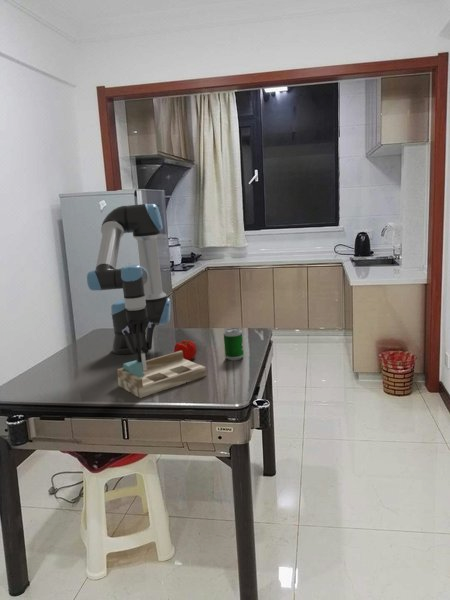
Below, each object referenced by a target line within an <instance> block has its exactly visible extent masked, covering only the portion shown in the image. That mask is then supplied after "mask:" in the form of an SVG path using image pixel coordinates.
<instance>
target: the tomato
mask: <svg viewBox="0 0 450 600" xmlns="http://www.w3.org/2000/svg"><path fill="white" fill-rule="evenodd" d="M173 350H174V352H177V351H183V358H184V359H186V360H189V361H192V360H193V359H194V357H195V356H196V354H197V346H196V344H195V343H194V342H193V340H192V341H191V340H187V339H186V340H185V339H184V340H181V341H180V342H177V343H176V344H175V345H174V349H173ZM174 352H173V353H174Z"/></svg>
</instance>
